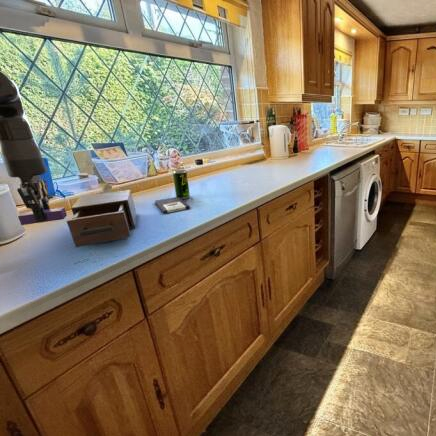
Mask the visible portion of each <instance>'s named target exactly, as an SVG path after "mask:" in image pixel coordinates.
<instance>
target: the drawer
mask: <svg viewBox="0 0 436 436" xmlns="http://www.w3.org/2000/svg"><path fill="white" fill-rule="evenodd" d="M66 223H67V226H68V229H69V233H70V236H71V238H72V241H73V243H74V246H75V248H81V247H85V246H90V245H95V244H96V245H97V244H101V243H107V242H111V241H117V240H122V239H127V238H131V236H132V235H131V232H130V229H129V226H130V219H129V216H128V212H127V209H126V205H125V203H120V204H113V205H106V206H99V207H92V208H85V209H79V210H78V211H77V213H76V214H75V215H73V217H72V218H69V219H66Z"/></svg>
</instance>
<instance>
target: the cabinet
mask: <svg viewBox="0 0 436 436" xmlns="http://www.w3.org/2000/svg"><path fill="white" fill-rule="evenodd" d="M120 203H125V205H126V209H127V212H128V216H129V219H130V226H129V230H133V229H136V227H137V218H138V214H137V210H136V206H135V203H134V198H133V195H132V192H131V189H126V190H117V191H111V192H109V193H101V194H100V193H93V194H86V195H81V196H80V197H79V198H78V199H77V200H76V202H75V203H74V204H73V205H72V207H71V208H70V209H71V212H72V214H73V216H74V215H75V214H76V213H77V211H78V210H79V209H85V208H92V207H99V206H106V205H113V204H120Z"/></svg>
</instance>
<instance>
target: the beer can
mask: <svg viewBox="0 0 436 436" xmlns="http://www.w3.org/2000/svg"><path fill="white" fill-rule="evenodd" d="M172 177H173V183H174V184H173V185H174V191H175V197H180V198H181V199H182V200H186V199H189V198H190V196H191V194H190V186H189V185H190V184H189V179H188V171H187V169H186V168H177V169H173V170H172Z"/></svg>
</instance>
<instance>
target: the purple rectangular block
mask: <svg viewBox="0 0 436 436" xmlns="http://www.w3.org/2000/svg"><path fill="white" fill-rule="evenodd" d="M44 211H45V214H46V217H47V220H46V221H43V222H37V221H36V219H35V217H34V214H33V211H32V210H30V211H24V212H22V213H20V214H19V215H18V216H17V217H18V221H19V224H20V225H21V226H26V225H33V224H40V223H47V222H52V221H53V222H54V221H55V222H56V221H61V220H65V218H66V217H67V216H68V214H67V211H66V208H65V207H64V206H61V207H55V208H54V207H53V208H50V209H46V210H44Z"/></svg>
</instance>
